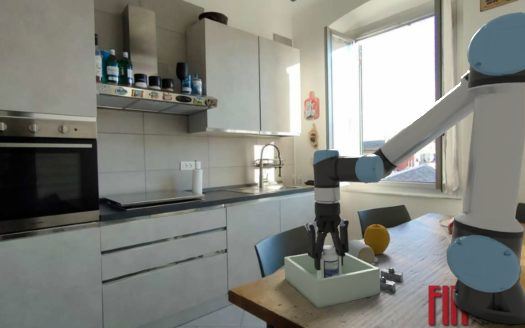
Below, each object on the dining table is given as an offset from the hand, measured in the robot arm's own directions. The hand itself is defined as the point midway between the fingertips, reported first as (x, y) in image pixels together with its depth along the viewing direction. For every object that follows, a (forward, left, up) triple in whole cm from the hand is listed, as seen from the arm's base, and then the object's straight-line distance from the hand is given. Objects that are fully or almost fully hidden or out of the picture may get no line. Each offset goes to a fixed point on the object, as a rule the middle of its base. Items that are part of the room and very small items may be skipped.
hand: (329, 278), depth 86 cm
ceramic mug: (+11, -22, -3) cm, 25 cm away
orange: (+17, -33, -3) cm, 37 cm away
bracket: (-5, -17, -2) cm, 18 cm away
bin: (0, 0, -2) cm, 2 cm away
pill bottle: (0, 0, -1) cm, 1 cm away
